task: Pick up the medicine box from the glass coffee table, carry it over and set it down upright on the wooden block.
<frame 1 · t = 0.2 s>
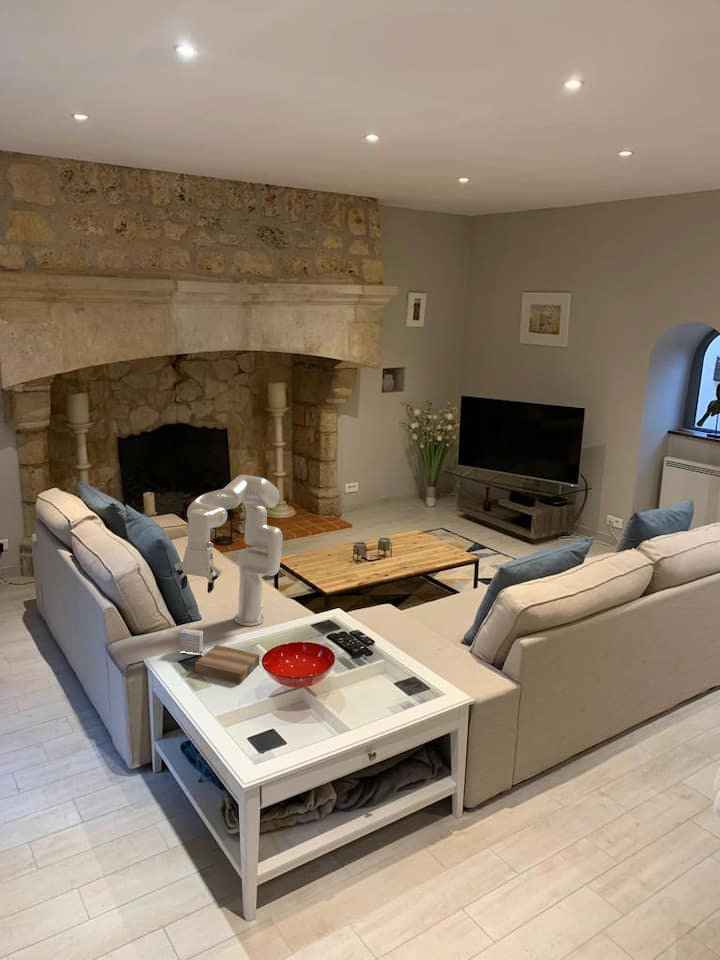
hand: (197, 589, 259), 30 cm above the table, tool pointing down, fingers open, 9 cm apart
wooden block: (227, 668, 267), on the table
medicine box: (191, 653, 276), on the table
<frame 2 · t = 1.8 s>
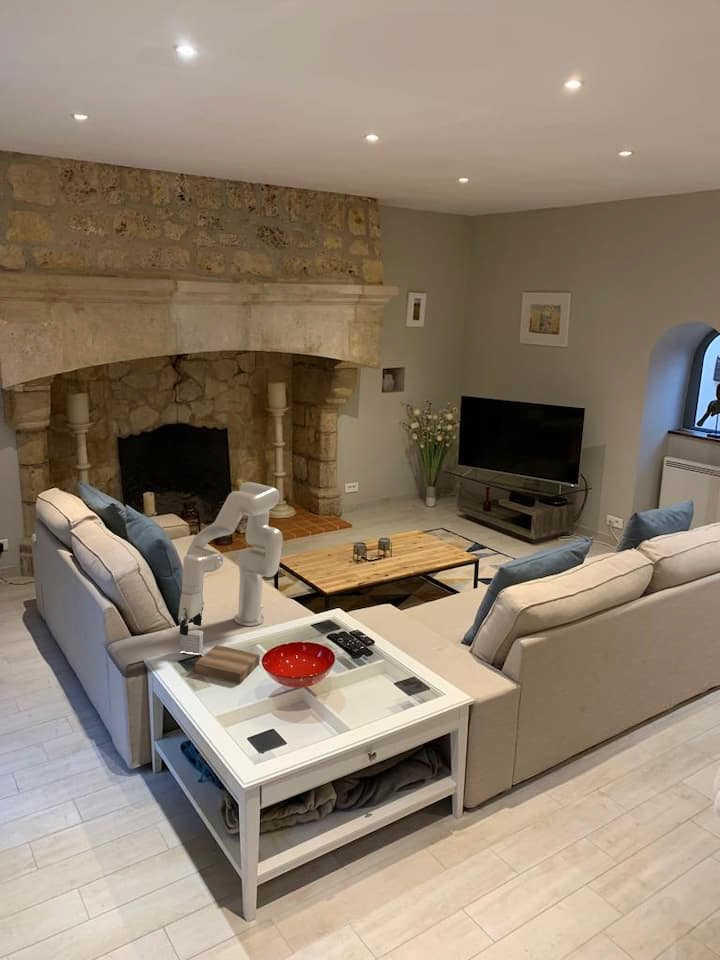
hand: (190, 629, 273), 10 cm above the table, tool pointing down, fingers open, 9 cm apart
nothing on the table moved.
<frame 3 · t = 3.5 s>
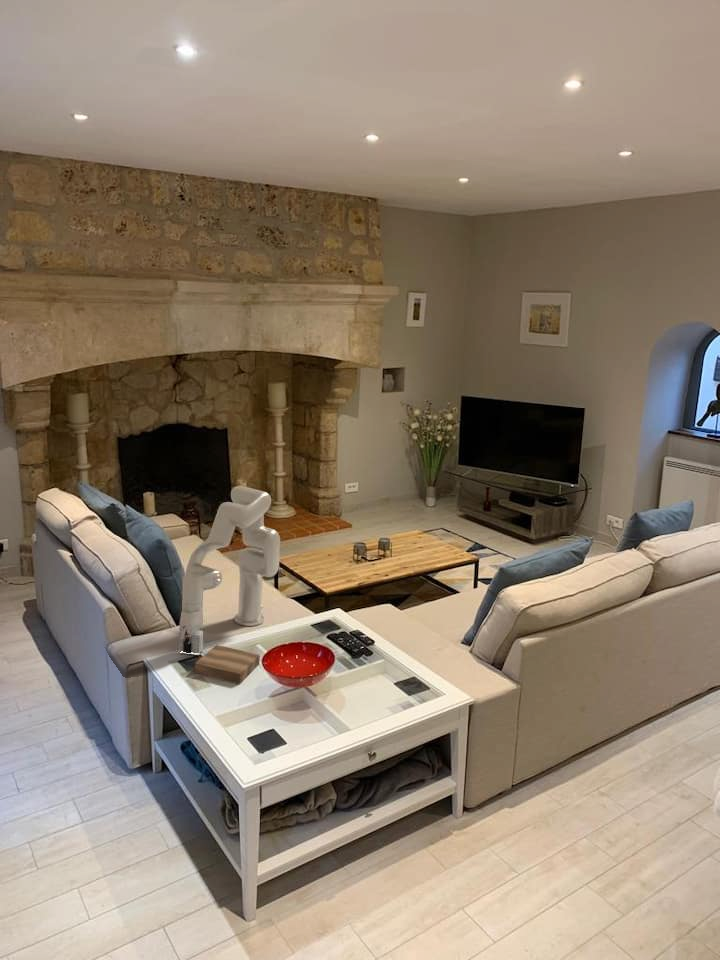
hand: (191, 648, 276), 2 cm above the table, tool pointing down, fingers closed on medicine box, 5 cm apart
medicine box: (191, 653, 276), on the table, touching gripper
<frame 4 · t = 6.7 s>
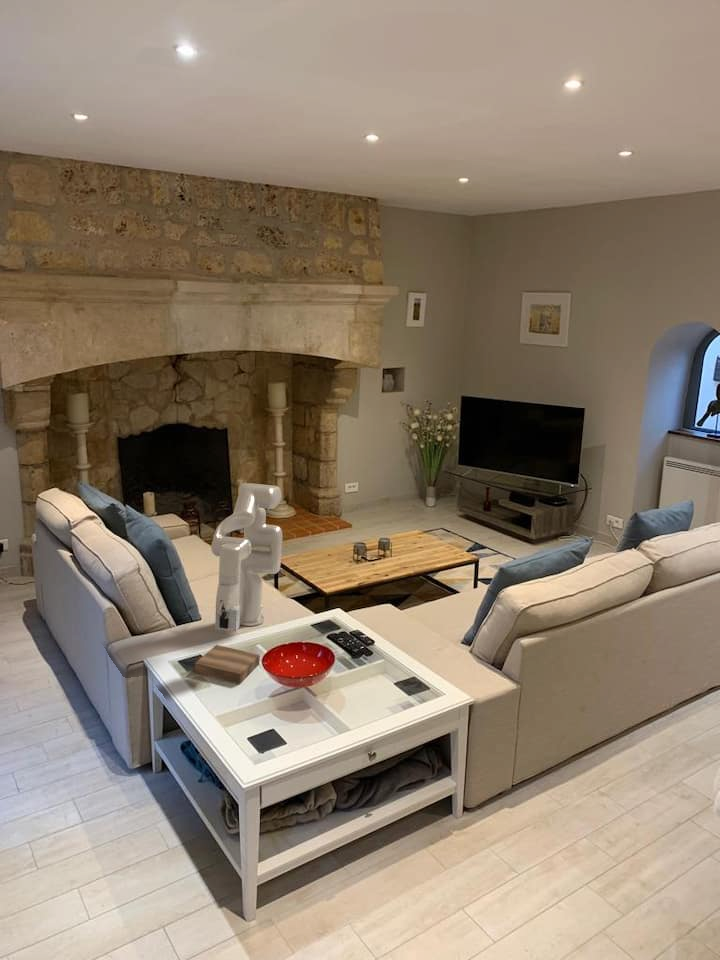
hand: (227, 624, 263), 17 cm above the table, tool pointing down, fingers closed on medicine box, 5 cm apart
medicine box: (227, 629, 264), point 16 cm above the table, touching gripper
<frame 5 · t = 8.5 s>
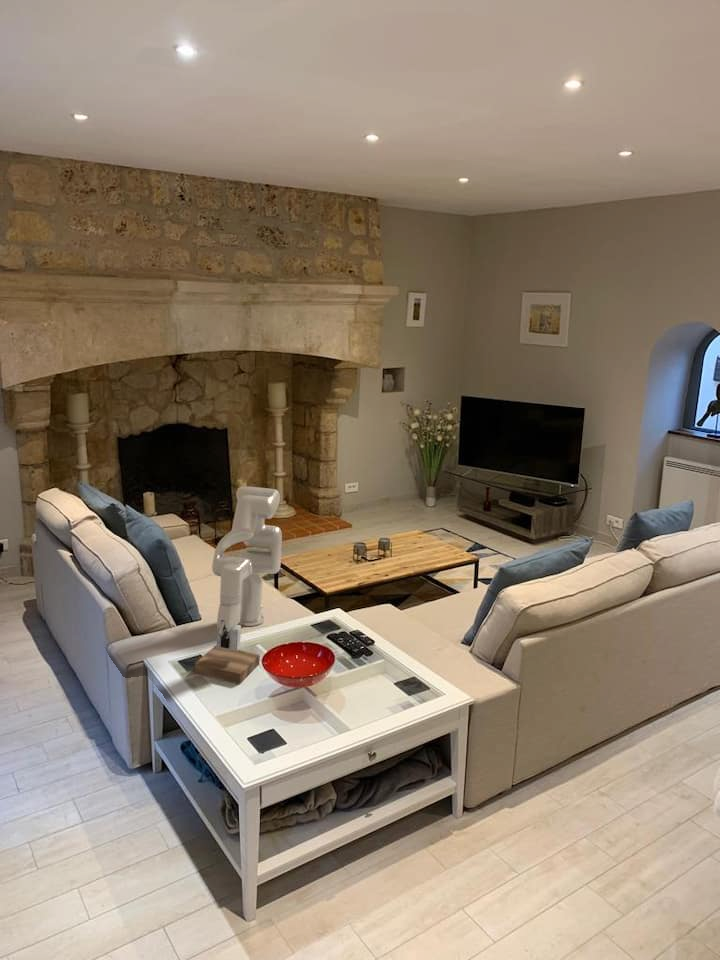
hand: (228, 643, 264), 10 cm above the table, tool pointing down, fingers closed on medicine box, 5 cm apart
medicine box: (228, 648, 265), point 8 cm above the table, touching gripper
when the fingers open (7 cm above the table, at t = 10.1 s): medicine box drops 1 cm, resting on wooden block.
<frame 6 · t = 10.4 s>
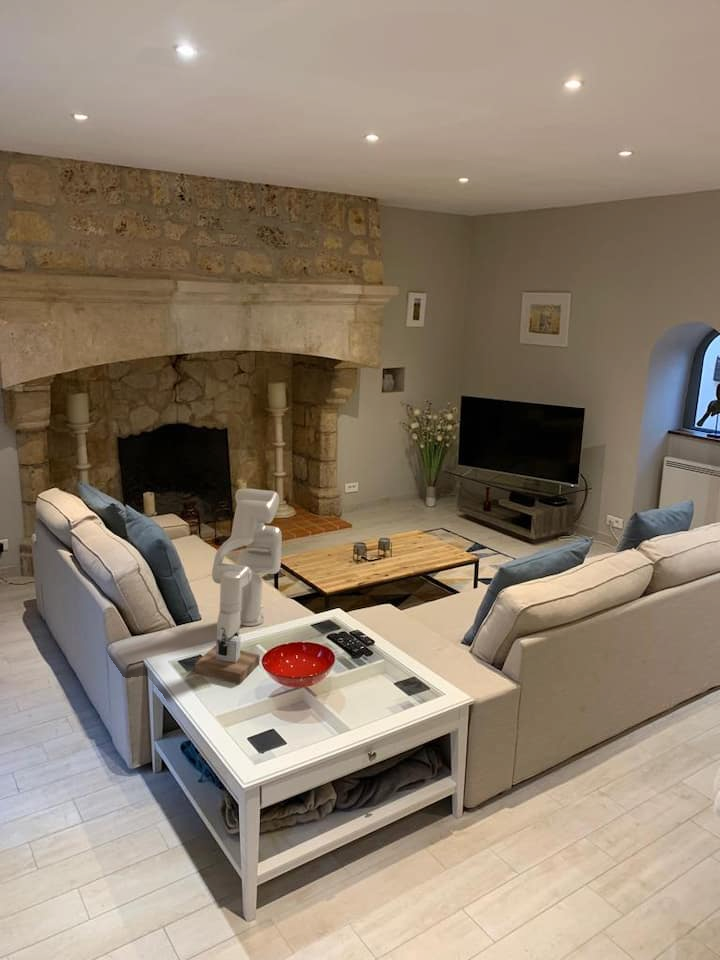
hand: (228, 649, 265), 8 cm above the table, tool pointing down, fingers open, 8 cm apart
medicine box: (227, 659, 266), point 4 cm above the table, touching wooden block
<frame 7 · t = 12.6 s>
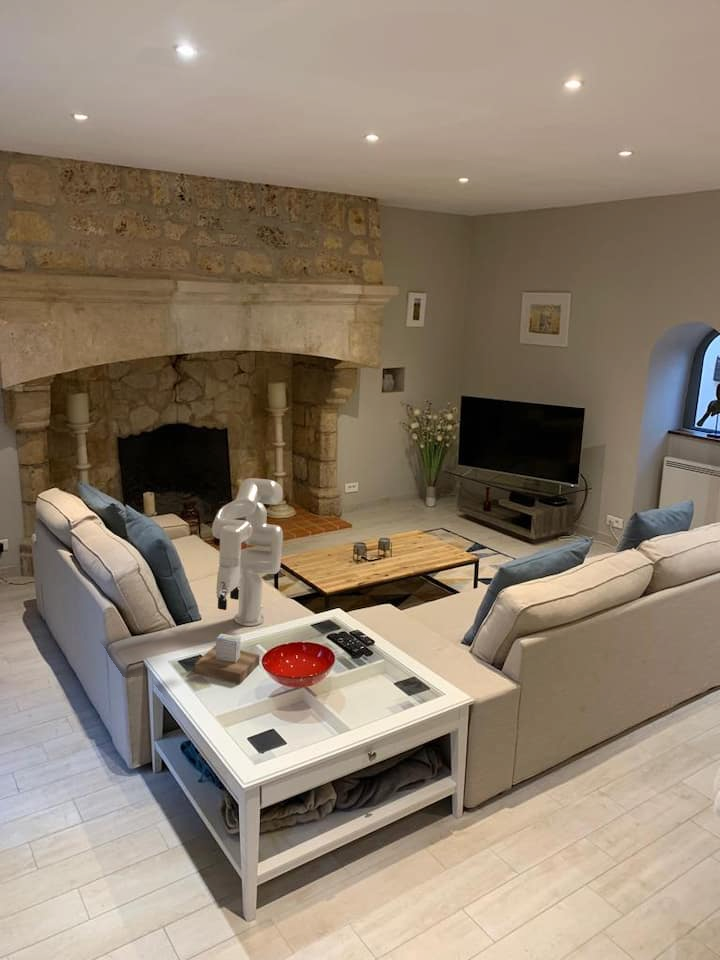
hand: (228, 603, 263), 25 cm above the table, tool pointing down, fingers open, 9 cm apart
nothing on the table moved.
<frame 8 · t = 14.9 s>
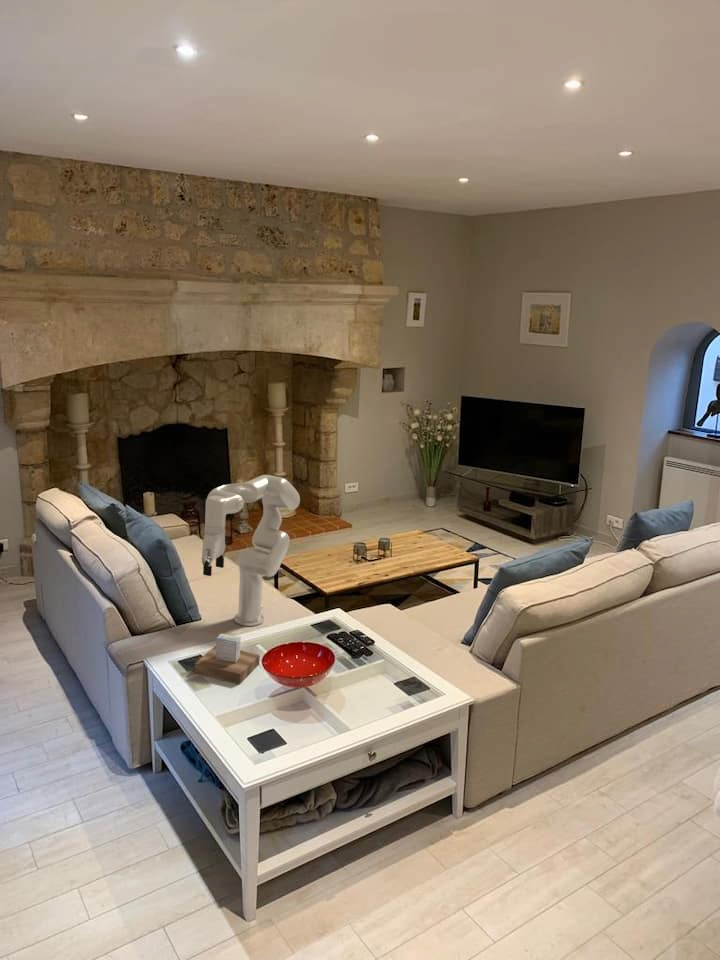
hand: (213, 571, 278), 30 cm above the table, tool pointing down, fingers open, 9 cm apart
nothing on the table moved.
at the end: medicine box inside the target area on the wooden block (0.1 cm from its centre), point 3.8 cm above the wooden block's base; medicine box tilted 0°; the gripper is holding nothing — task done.
